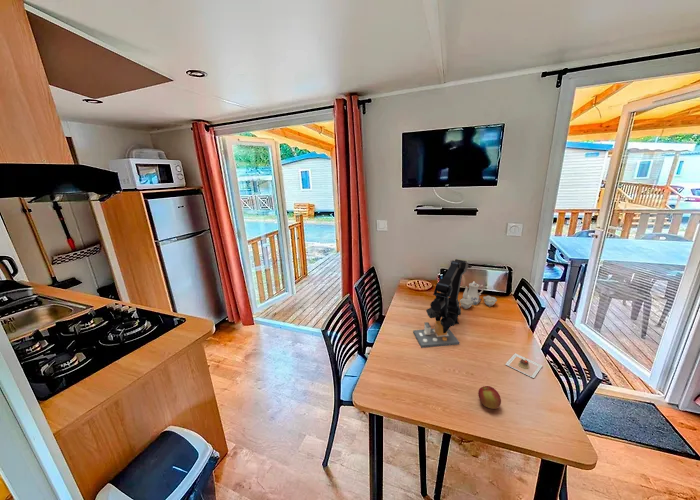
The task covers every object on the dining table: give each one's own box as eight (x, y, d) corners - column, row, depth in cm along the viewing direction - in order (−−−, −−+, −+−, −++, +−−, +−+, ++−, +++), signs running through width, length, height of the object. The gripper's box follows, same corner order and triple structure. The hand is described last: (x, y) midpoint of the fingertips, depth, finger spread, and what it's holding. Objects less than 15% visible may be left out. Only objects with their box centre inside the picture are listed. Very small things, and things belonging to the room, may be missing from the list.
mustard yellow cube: (434, 330, 154) (435, 321, 152) (442, 329, 154) (443, 320, 153) (438, 335, 149) (438, 326, 147) (446, 334, 150) (447, 325, 148)
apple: (492, 396, 111) (494, 380, 108) (503, 413, 103) (506, 397, 101) (474, 397, 111) (476, 381, 108) (484, 414, 103) (486, 398, 101)
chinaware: (463, 315, 175) (467, 293, 168) (449, 301, 190) (452, 280, 183) (499, 308, 181) (504, 287, 175) (482, 295, 196) (487, 275, 189)
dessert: (533, 380, 119) (535, 371, 118) (504, 366, 128) (506, 357, 127) (542, 367, 126) (544, 359, 125) (514, 355, 135) (516, 347, 134)
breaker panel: (447, 329, 157) (448, 325, 156) (459, 344, 144) (459, 340, 143) (413, 332, 155) (413, 328, 155) (421, 347, 142) (421, 343, 141)
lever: (428, 330, 153) (428, 322, 151) (431, 335, 149) (431, 326, 147) (423, 331, 153) (423, 322, 151) (425, 335, 149) (426, 326, 147)
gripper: (422, 296, 155) (421, 320, 159) (435, 313, 137) (433, 339, 141) (441, 295, 155) (439, 319, 160) (456, 311, 138) (453, 337, 142)
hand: (440, 328), depth 151 cm, fingers open, 9 cm apart
